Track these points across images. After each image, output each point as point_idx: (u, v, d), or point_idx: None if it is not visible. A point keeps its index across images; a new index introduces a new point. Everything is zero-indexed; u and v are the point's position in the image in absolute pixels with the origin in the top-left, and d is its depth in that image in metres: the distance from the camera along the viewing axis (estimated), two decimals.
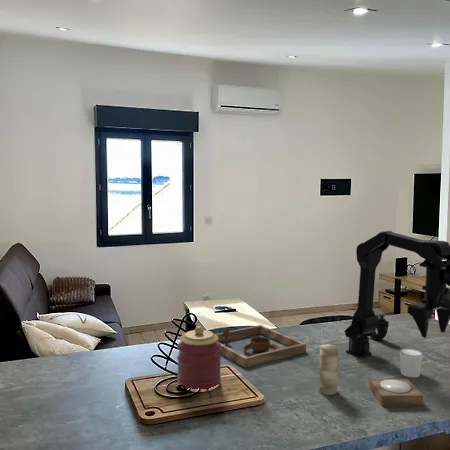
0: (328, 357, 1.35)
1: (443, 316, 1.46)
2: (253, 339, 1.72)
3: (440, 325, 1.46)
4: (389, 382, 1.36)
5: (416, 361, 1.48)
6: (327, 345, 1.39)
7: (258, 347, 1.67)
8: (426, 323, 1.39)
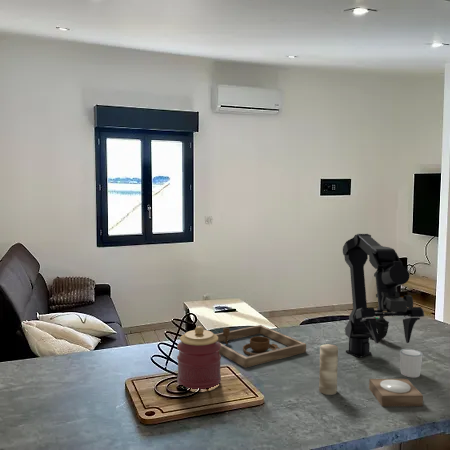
0: (328, 357, 1.35)
1: (406, 326, 1.41)
2: (253, 339, 1.72)
3: (405, 336, 1.41)
4: (389, 382, 1.36)
5: (416, 361, 1.48)
6: (328, 345, 1.39)
7: (257, 346, 1.67)
8: (372, 326, 1.39)
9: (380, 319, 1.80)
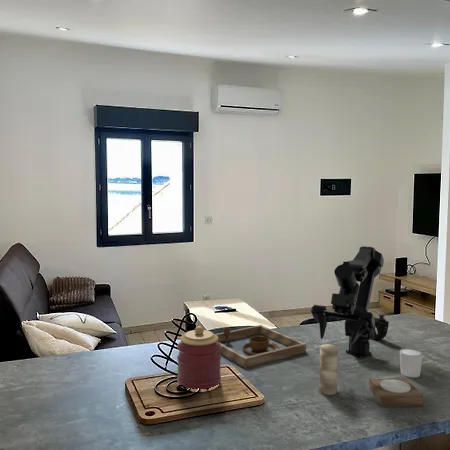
0: (328, 357, 1.35)
1: None
2: (252, 338, 1.73)
3: None
4: (389, 382, 1.36)
5: (416, 361, 1.48)
6: (328, 345, 1.39)
7: (256, 346, 1.68)
8: (320, 321, 1.48)
9: (380, 319, 1.80)
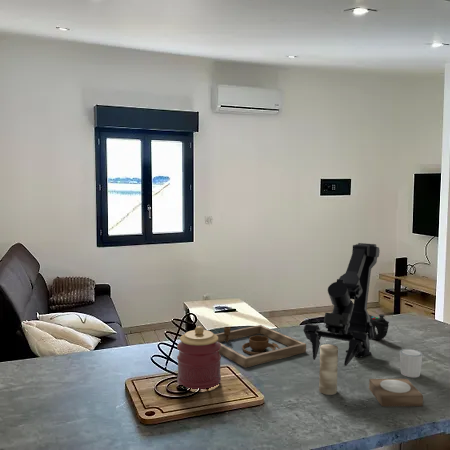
0: (328, 357, 1.35)
1: None
2: (252, 337, 1.74)
3: None
4: (389, 382, 1.36)
5: (416, 361, 1.48)
6: (328, 345, 1.39)
7: (256, 345, 1.68)
8: (312, 341, 1.43)
9: (380, 319, 1.80)
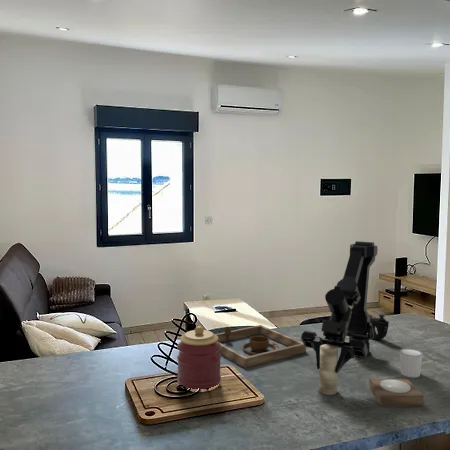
0: (328, 357, 1.35)
1: None
2: (253, 338, 1.74)
3: None
4: (389, 382, 1.36)
5: (416, 361, 1.48)
6: (327, 345, 1.39)
7: (256, 346, 1.68)
8: (316, 350, 1.40)
9: (380, 319, 1.80)
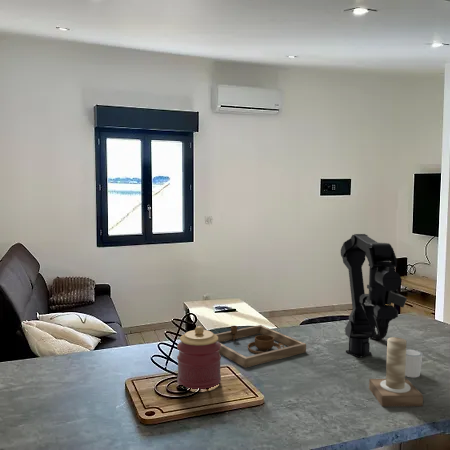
0: (402, 350, 1.31)
1: (372, 312, 1.56)
2: (258, 337, 1.75)
3: (370, 321, 1.56)
4: None
5: (416, 361, 1.48)
6: (392, 338, 1.35)
7: (261, 344, 1.69)
8: None
9: None
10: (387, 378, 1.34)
